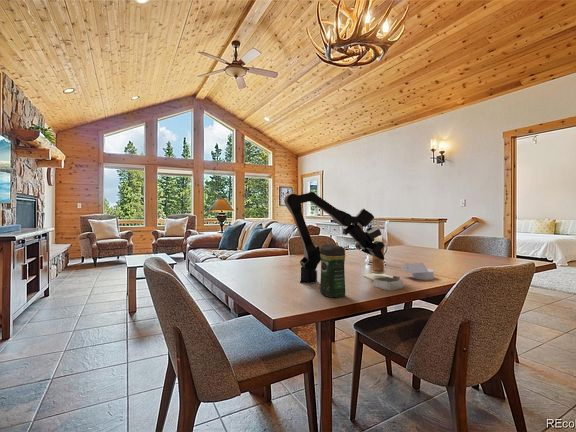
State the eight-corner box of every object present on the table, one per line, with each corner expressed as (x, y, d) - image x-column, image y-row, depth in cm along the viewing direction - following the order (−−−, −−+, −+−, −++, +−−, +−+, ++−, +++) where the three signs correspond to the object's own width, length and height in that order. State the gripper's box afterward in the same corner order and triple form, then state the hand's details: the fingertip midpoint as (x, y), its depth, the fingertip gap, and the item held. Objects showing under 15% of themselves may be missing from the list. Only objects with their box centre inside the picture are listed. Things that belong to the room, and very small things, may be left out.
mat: (375, 281, 130) (375, 279, 130) (361, 275, 140) (361, 274, 140) (396, 279, 134) (396, 277, 134) (380, 273, 144) (380, 272, 144)
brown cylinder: (375, 274, 133) (376, 245, 133) (369, 271, 139) (369, 243, 138) (386, 273, 135) (387, 244, 134) (380, 271, 140) (380, 243, 140)
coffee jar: (349, 296, 108) (349, 245, 108) (330, 299, 105) (330, 247, 104) (334, 289, 117) (334, 242, 116) (317, 292, 114) (316, 243, 113)
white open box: (389, 290, 115) (389, 281, 115) (373, 286, 122) (373, 277, 122) (406, 287, 120) (406, 278, 120) (389, 282, 127) (389, 274, 127)
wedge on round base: (411, 280, 131) (438, 279, 133) (411, 265, 131) (438, 264, 133) (400, 276, 140) (425, 274, 142) (400, 261, 140) (425, 260, 142)
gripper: (380, 223, 126) (403, 248, 129) (361, 220, 144) (382, 243, 147) (363, 242, 125) (387, 267, 127) (345, 237, 143) (367, 259, 146)
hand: (380, 258), depth 137 cm, fingers closed on brown cylinder, 5 cm apart
